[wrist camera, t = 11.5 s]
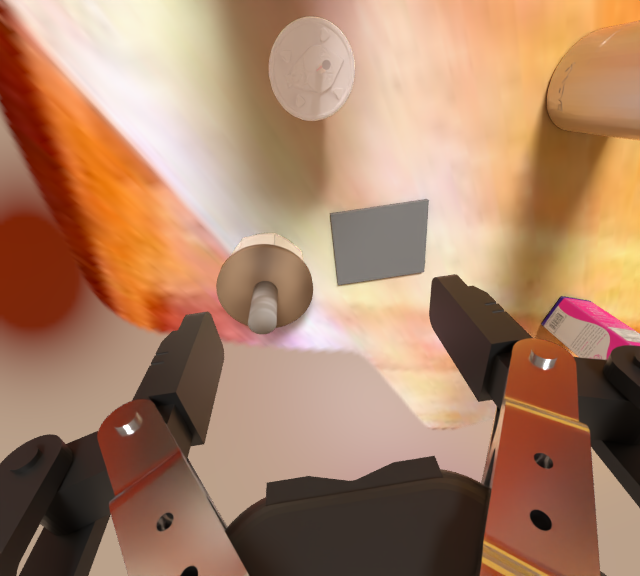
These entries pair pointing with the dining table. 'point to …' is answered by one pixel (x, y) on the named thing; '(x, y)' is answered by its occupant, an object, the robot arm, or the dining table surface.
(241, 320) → the lid
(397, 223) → the mat
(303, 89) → the smoothie
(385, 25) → the dining table surface
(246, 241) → the bowl
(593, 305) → the supplement box
